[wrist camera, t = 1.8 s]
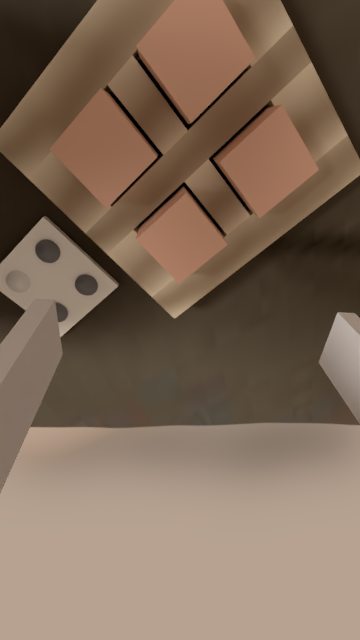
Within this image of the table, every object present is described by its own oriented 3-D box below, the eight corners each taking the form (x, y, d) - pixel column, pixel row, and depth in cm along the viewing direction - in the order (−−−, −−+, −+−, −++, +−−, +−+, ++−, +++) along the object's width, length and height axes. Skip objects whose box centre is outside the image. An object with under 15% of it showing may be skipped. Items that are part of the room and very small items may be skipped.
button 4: (212, 158, 25) (219, 162, 22) (266, 108, 23) (282, 104, 20) (248, 208, 27) (259, 218, 24) (300, 165, 25) (319, 169, 22)
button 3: (139, 58, 21) (136, 46, 18) (197, -9, 20) (203, -35, 17) (187, 124, 23) (191, 123, 20) (242, 68, 22) (255, 58, 19)
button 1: (64, 146, 24) (49, 149, 21) (109, 93, 22) (100, 87, 19) (113, 199, 26) (106, 208, 23) (158, 154, 24) (157, 157, 21)
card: (-12, 277, 31) (-16, 280, 30) (45, 215, 28) (42, 217, 28) (62, 333, 35) (60, 337, 34) (119, 283, 32) (118, 287, 31)
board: (7, 140, 25) (-10, 142, 23) (202, -109, 19) (207, -147, 16) (173, 304, 33) (174, 318, 31) (346, 167, 27) (365, 170, 25)
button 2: (139, 227, 27) (136, 239, 24) (183, 185, 26) (186, 193, 22) (177, 267, 29) (179, 284, 26) (220, 231, 28) (227, 244, 25)
